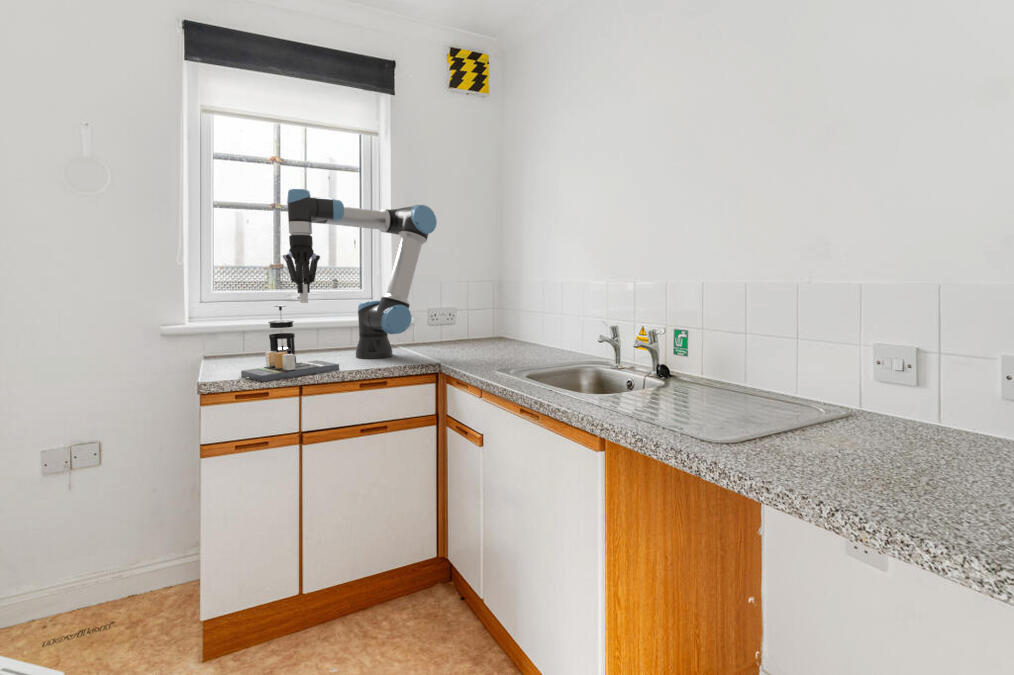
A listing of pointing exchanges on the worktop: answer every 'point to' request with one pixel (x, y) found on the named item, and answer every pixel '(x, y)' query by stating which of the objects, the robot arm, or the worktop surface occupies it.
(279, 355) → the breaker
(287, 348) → the french press
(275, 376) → the panel
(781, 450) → the worktop surface
